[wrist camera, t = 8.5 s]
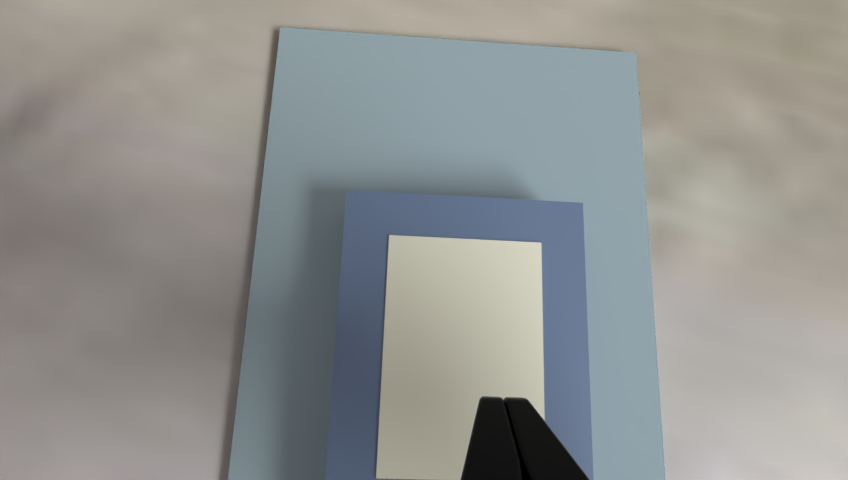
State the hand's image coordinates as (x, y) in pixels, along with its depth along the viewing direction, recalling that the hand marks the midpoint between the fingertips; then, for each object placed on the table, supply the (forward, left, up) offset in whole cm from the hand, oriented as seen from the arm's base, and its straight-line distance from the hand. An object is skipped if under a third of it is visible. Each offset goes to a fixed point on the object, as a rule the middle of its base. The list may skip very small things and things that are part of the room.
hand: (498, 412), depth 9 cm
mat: (+3, +3, -7) cm, 8 cm away
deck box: (-3, -3, -6) cm, 7 cm away
